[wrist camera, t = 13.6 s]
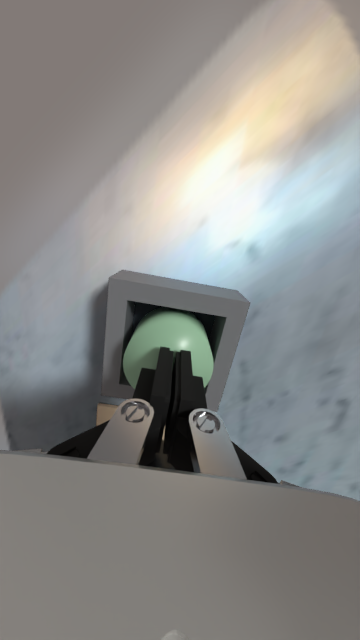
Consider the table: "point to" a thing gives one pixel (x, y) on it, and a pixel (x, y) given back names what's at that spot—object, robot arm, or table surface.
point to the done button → (168, 343)
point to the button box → (171, 294)
